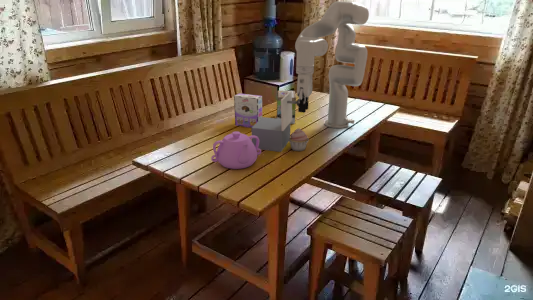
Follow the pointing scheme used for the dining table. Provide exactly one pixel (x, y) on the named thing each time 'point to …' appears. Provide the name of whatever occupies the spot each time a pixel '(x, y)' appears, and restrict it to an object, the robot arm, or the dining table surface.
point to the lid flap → (287, 110)
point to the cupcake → (298, 140)
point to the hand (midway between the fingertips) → (303, 110)
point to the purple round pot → (236, 151)
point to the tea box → (279, 96)
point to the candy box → (247, 109)
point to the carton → (270, 134)
